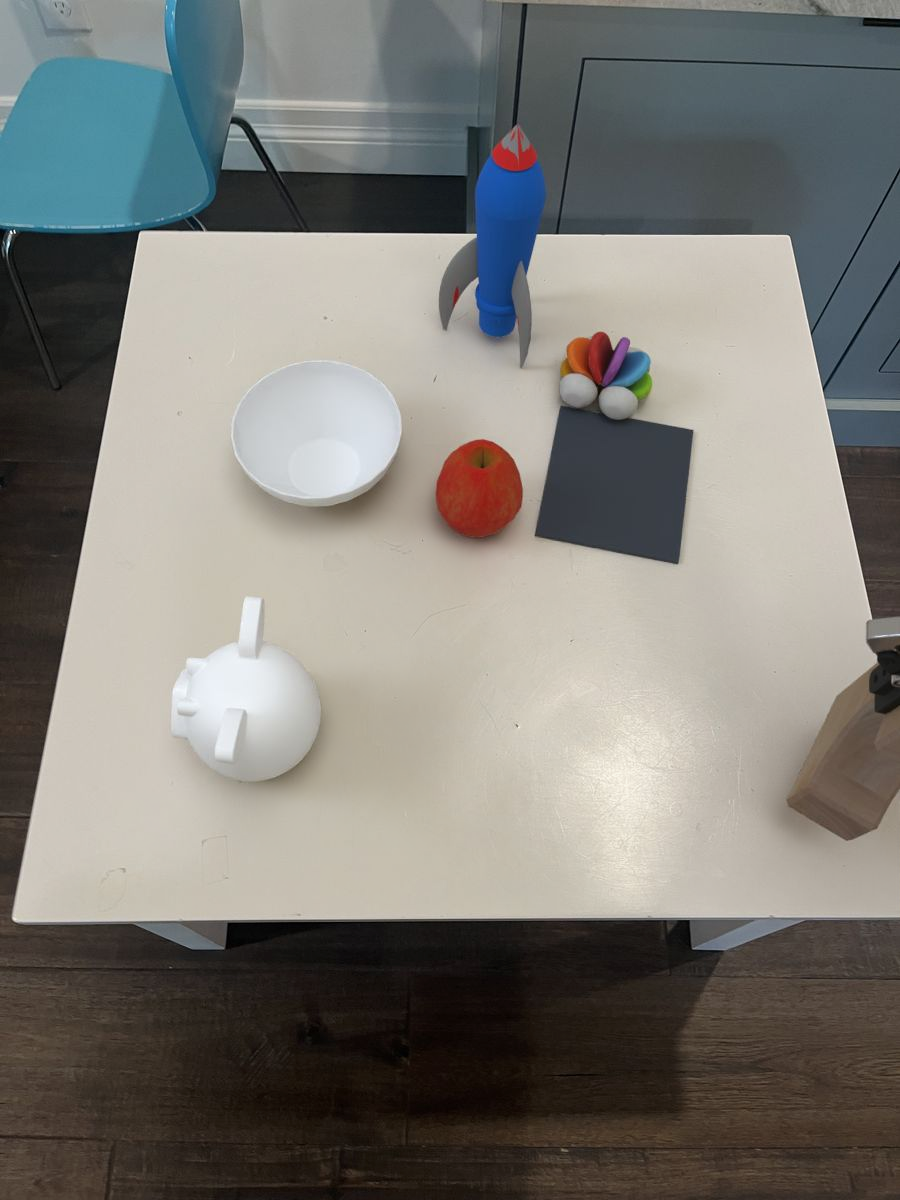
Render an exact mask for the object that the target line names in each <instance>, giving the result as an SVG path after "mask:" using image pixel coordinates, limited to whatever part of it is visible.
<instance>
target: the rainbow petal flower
mask: <svg viewBox="0 0 900 1200" xmlns="http://www.w3.org/2000/svg"><path fill="white" fill-rule="evenodd" d="M630 345H631V340H630V338H628V337H626V336H623V337H621V338H620V339H619V340H618V342H617V344H616V346H615V348H614V347H613V345H612V342H611V339H610V336H609V335H608V334H607V333H606V332H604V331H597V332H595V333H594V334H592V335H591V336H587V337H584V336H580V337H576V338H574V339H572V340H571V341H570V342H569V343H568V345H567V346H566V357H565V358H564V359H563V360H562V362H561V364H560V368H559V370H560V372H559V373H560V376H561V380H560V382H559V393H560V397H561V399H562V400H563V402H564V403H565V404H566V405H568V406H569V407H573V408H578V409H583V408H585V407H588V406H590V405H591V404H592V403H593V402H595V400H596V399H597V398H598V405H599V408H600V411H601V413H604V414H605V415H606V416H607V417H609V418H611V419H615V420H622V419H626V418H630V417H631V416H632V415H634V414H635V412H636V410H637V409H638V407H639V401H641V400H643V399H645V398H646V397H647V396H649V395H650V393H651V391H652V389H653V379H652V376H651V374H650V369H651V364H652V363H651V362H652V361H651V357H650V355H649V354H648V353H646V352H645V351H644V350H642V349H641V348H638V347H635V346H630ZM613 348H614V349H613ZM599 385H601V386H602V387H604V388H603V389H602V390H601V391H600V394H599V395H598V392H599V391H598V387H599Z"/></svg>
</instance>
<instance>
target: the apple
mask: <svg viewBox="0 0 900 1200" xmlns="http://www.w3.org/2000/svg"><path fill="white" fill-rule="evenodd" d="M435 499H436V505H437V510H438V512H439V514H440V515H441V517H442V518H443V520H444V522H445V523H446V524H447V525H448V527H450V528H451V529H453V530H454V531H455V532H456V533H458V534H459V535H463V536H465V537H466V536H467V537H471V538H483V537H487V536H488V537H489V536H492V535H495V534H496V533H498V532H499V531H501V530H503V529H504V528H506V527H507V526H508V525H509V524H510V523H512V521H513V520H514V519H516V516H517V515H518V513H519V512H520V510H521V508H522V505H523V499H524V489H523V484H522V479H521V473H520V471H519V467H518V466H517V464H516V461H515V459H514V458H513V456H512V455H511V454H510V453H509V452H508V451H507V450H505V449H504V448H503V447H502V446H501V445H499V444H497V443H496V442H494V441H492V440H489V439H484V438H482V439H481V438H480V439H474V440H471V441H468V442H466V443H463V444H462V445H460V446H458V447H457V448H456V449H454V450H453V451H452V452H451V453H449V455H448V457H447V458H446V459H445V460H444V462H443V465H442V466H441V470H440V472H439V475H438V477H437V480H436V486H435Z"/></svg>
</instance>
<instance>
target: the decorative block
mask: <svg viewBox="0 0 900 1200" xmlns="http://www.w3.org/2000/svg"><path fill="white" fill-rule="evenodd" d="M878 665H879V663H878V662H876V663H875V664H873V666H871V667H869V669H867V670H866V671H865V672H864V673H863V674H861V675H860V676H859V677H858V678H857V679H856V680H854V681H853V682H852V683H851V684H849V685H848V686H847V687H846V688H844V689H843V690H841V692H839V693H838V694H837V695H836V696H835V699H834V700H833V702H832V704H831V707H830V709H829V711H828V712H827V715H826V717H825V719H824V721H823V722H822V725H821V727H820V729H819V731H818V733H817V736H816V737H815V740H814V742H813V743H812V746H811V748H810V750H809V751H808V754H807V756H806V758H805V760H804V762H803V765H802V766H801V769H800V771H799V773H798V775H797V777H796V779H795V781H794V783H793V785H792V787H791V789H790V791H789V794H788V795H787V798H786V803H787V806H788V807H789V808H790V809H792V810H794V811H795V812H797V813H799V814H800V815H802V816H804V817H805V818H807V819H808V820H810V821H812V822H814V823H815V824H817V825H819V826H820V827H822V828H824V829H826V830H828V831H829V832H830V833H833V834H834V835H835V836H837V837H838V838H840V839H843V840H844V841H846V842H847V841H852V840H855V839H858V838H860V837H862V836H864V835H867V834H868V833H871V832H872V831H875V830H877V829H878V828H879V827H880V824H881V822H882V821H883V818H884V817H885V814H886V813H887V811H888V808H889V807H890V805H891V803H892V802H893V800H894V799H895V797H896V796H897V795H898V793H899V791H900V705H898V706H897V707H896V708H894V709H893V710H891V711H890V712H888V713H886V714H881V713H876V712H875V694H872V693H870V691H869V677H870V674H871V672H872V670H873V669H875V668H876V667H877V666H878Z"/></svg>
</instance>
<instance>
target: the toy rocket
mask: <svg viewBox="0 0 900 1200" xmlns="http://www.w3.org/2000/svg"><path fill="white" fill-rule="evenodd" d="M491 152H492V153H491V154H490V155H489V157H488V158H487V159H486V161H485V163H484V165H483V167H482V169H481V171H480V173H479V175H478V178H477V181H476V185H475V190H474V204H475V206H474V207H475V227H476V237H474V238H472V239H471V240H470V241H468V242H467V243H466V244H464V245H463V246H462V247H461V248H460V249H458V251H457V253H456V254H455V255H454V256H453V257H452V259H451V260H450V261H449V263H448V265H447V267H446V268H445V271H444V272H443V276H442V278H441V281H440V285H439V291H438V313H439V319H440V322H441V326H442V329H443V330H444V331H447V330H448V327H449V325H450V324H449V323H450V320H451V316H452V315H453V312H454V309H455V307H456V305H457V303H458V300H459V299H460V298H461V296H462V294H463V293H464V291H465V290H466V289H467V288H468V286H469V285H470V284H471V283H473V282H474V281H475V280H477V279H478V283H477V285H476V287H475V289H474V290H475V291H474V297H475V303H476V304H475V305H476V308H477V310H478V326H479V329H480V330H481V331H482V332H483V334H485V335H487V336H489V337H492V338H504V337H507V336H509V335H510V334H511V333H513V332H514V330H515V328H516V325H517V333H518V341H519V342H518V345H519V346H518V347H519V368H520V369H523V367H524V365H525V362H526V359H527V356H528V353H529V349H530V345H531V344H530V343H531V336H532V301H531V300H532V299H531V293H530V292H531V291H530V289H529V288H530V286H529V281H528V278H527V276H528V272H529V267H530V263H531V259H532V256H533V252H534V247H535V244H536V240H537V236H538V233H539V227H540V224H541V220H542V216H543V212H544V208H545V204H546V200H547V199H546V198H547V189H546V180H545V176H544V171H543V168H542V165H541V163H540V161H539V159H538V153H537V151H536V150H535V148H534V146H533V145H532V143H531V142H530V140H529V139H528V137H527V135H526V133H525V132H524V130H523V129H522V127H521V125H520V124H518V123H517V124H515V126H513V128H512V129H510V131H508V133H507V134H506V135H504V137H503V138H502V139H501V140H500V141H499V142H498V143H497V144H496V145H495V147H494V148H493V149H492V151H491Z"/></svg>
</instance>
